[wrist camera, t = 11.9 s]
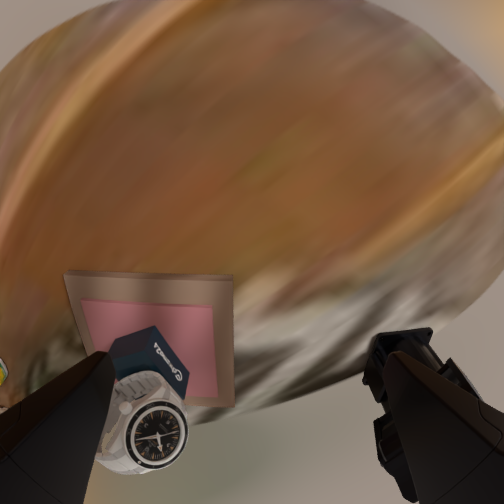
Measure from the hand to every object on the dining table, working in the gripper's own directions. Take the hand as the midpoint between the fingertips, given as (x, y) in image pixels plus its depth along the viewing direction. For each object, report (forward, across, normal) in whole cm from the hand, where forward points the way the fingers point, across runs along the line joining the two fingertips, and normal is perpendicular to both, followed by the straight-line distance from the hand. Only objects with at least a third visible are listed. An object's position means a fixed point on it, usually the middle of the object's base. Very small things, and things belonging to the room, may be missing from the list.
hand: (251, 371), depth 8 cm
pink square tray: (+13, +8, +10) cm, 18 cm away
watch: (+12, +8, +10) cm, 17 cm away
